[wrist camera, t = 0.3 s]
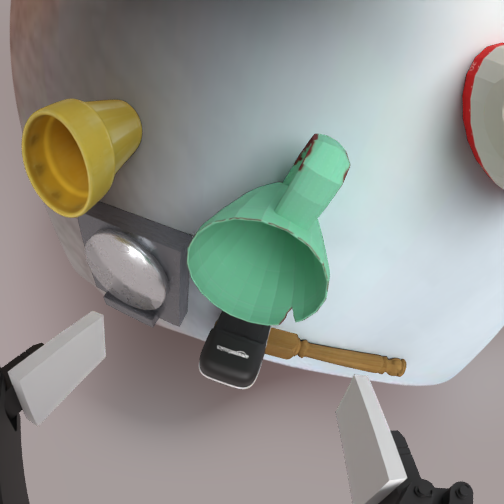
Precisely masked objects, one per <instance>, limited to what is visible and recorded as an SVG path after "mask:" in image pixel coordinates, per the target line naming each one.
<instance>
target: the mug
mask: <svg viewBox="0 0 504 504" xmlns="http://www.w3.org/2000/svg"><path fill="white" fill-rule="evenodd" d="M349 168H350V162H349V159H348V156H347V153H346V151H345V149H344V148H343V147H342V146H341V145H340V144H339V143H338V142H337V141H336V140H334V139H332V138H331V137H329V136H326V135H322V134H314V135H313V136H312V138H311V139H310V141H309V142H308V143H307V145H306V146H305V148H304V149H303V150H302V152H301V153H300V155H299V156H298V158H297V160H296V162H295V163H294V165H293V167H292V168H291V170H290V172H289V173H288V175H287V177H286V178H285V180H284V182H277V183H272V184H268V185H265V186H261V187H258V188H256V189H254V190H252V191H250V192H248V193H246V194H244V195H243V196H241V197H240V198H238V199H237V200H235V201H234V202H232V203H231V204H229V205H228V206H226V207H225V208H223V209H222V210H220V211H219V212H218V213H217V214H215V215H214V216H213V217H212V218H210V219H209V220H208V221H207V222H205V223H204V224H203V225H202V226H201V227H200V228H199V230H198V231H197V232H196V234H195V236H194V237H193V239H192V241H191V242H190V244H189V246H188V251H187V266H188V269H189V272H190V276H191V278H192V280H193V282H194V283H195V285H196V286H197V288H198V289H199V290H200V292H201V293H202V294H203V295H204V296H205V297H206V298H207V299H208V300H209V301H210V302H211V303H213V304H214V305H215V306H216V307H218V308H220V309H221V310H223V311H225V312H226V313H228V314H229V315H231V316H234V317H236V318H239V319H242V320H244V321H247V322H251V323H256V324H262V325H267V326H269V325H280V324H281V323H282V322H283V321H284V320H285V318H286V316H287V313H288V312H289V311H290V310H291V309H293V316H294V319H295V322H299V321H303V320H305V319H306V318H308V317H309V316H311V315H313V314H314V313H316V312H317V311H318V310H319V308H320V307H321V305H322V304H323V303H324V301H325V300H326V297H327V292H328V286H329V278H330V270H329V265H328V260H327V255H326V250H325V245H324V241H323V236H322V232H321V229H320V225H319V222H318V219H317V218H318V217H319V216H320V214H321V213H322V212H323V211H324V209H325V208H326V207H327V206H328V204H329V203H330V202H331V200H332V199H333V197H334V196H335V194H336V193H337V191H338V190H339V189H340V187H341V186H342V184H343V182H344V180H345V177H346V175H347V173H348V170H349Z"/></svg>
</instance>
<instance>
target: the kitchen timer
mask: <svg viewBox="0 0 504 504" xmlns="http://www.w3.org/2000/svg"><path fill="white" fill-rule="evenodd" d="M462 99H463V121H464V126H465V130H466V135H467V140H468V143H469V145H470V147H471V149H472V152H473V154H474V156H475V159H476V161H477V162H478V163H479V164H480V166H481V167H482V168H483V170H484V171H485V173H486V174H487V175H488V176H489V177H490V178H491V179H492V181H493V182H494V183H496V184H497V185H498V186H499V187H501V188H502V189H503V190H504V43H499V44H495V45H492V46H488V47H486V48H485V49H484V50H483V51H482V52H481V53H480V54H478V55H477V56H476V57H475V59H474V61H473V63H472V65H471V67H470V69H469V71H468V72H467V74H466V80H465V85H464V90H463V95H462Z"/></svg>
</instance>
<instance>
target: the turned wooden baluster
mask: <svg viewBox="0 0 504 504" xmlns="http://www.w3.org/2000/svg"><path fill="white" fill-rule="evenodd" d="M217 321H218V320H217ZM217 321H216V323H217ZM216 323H215V325H216ZM265 354H268V355H272V356H275V357H279V358H283V359H290V358H292V357H293V356H295V355H297V354H298V356H299V357H301V358H303V357H309V358H313V359H317V360H321V361H325V362H329V363H333V364H337V365H341V366H345V367H350V368H354V369H358V370H363V371H368V372H372V373H379V374H383V373H384V372H387V374H389V375H391V376H398V377H401V376H402V375H403V374H404V372H405V370H406V361H405V360H404V359H401V360H400V359H398V358H393V359H390V360H388V358H387V356H384V357H382V356H380V355H375V354H368V353H361V352H355V351H349V350H343V349H337V348H332V347H326V346H321V345H316V344H311V343H308V342H307V340H303V341H300V338H298V335H297V334H294V333H290V332H286V331H283V330H279V329H275V328H271V329H270V332H269V336H268V340H267V345H266V350H265Z"/></svg>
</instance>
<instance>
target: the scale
mask: <svg viewBox="0 0 504 504" xmlns="http://www.w3.org/2000/svg"><path fill="white" fill-rule="evenodd" d="M78 222H79V226H80V230H81V234H82V238H83V242H84V246H85V256H86V260H87V263H88V265H89V267H90V269H91V271H92V274H93V277H94V280H95V283H96V286H97V287H98V288H100V289H101V290H103V291H105V292H107V293H106V294H105V296H104V299H105V302H106V304H107V305H109V306H111V307H113V308H114V309H116V310H118V311H120V312H122V313H124V314H126V315H128V316H130V317H132V318H134V319H136V320H138V321H140V322H142V323H144V324H146V325H149V326H151V327H154V325H155V324H156V322H157V320H158V319H159V318H161V319H163V320H165V321H167V322H170V323H172V324H174V325H176V326H180V325H181V323H182V321H183V319H184V317H185V315H186V313H187V307H188V288H189V269H188V266H187V251H188V246H189V244H190V242H191V241H192V235H189V234H186V233H184V232H181V231H178V230H175V229H173V228H170V227H167V226H165V225H162V224H159V223H156V222H154V221H151V220H148V219H146V218H143V217H140V216H137V215H135V214H132V213H129V212H127V211H124V210H121V209H118V208H116V207H113V206H110V205H108V204H105V203H102V202H100V201H98V202H97V203H96V204H95V205H94V206H93V207H92V208H91V209H89V210H88V211H87V212H86V213H85V214H83V215H81V216H79V217H78Z"/></svg>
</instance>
